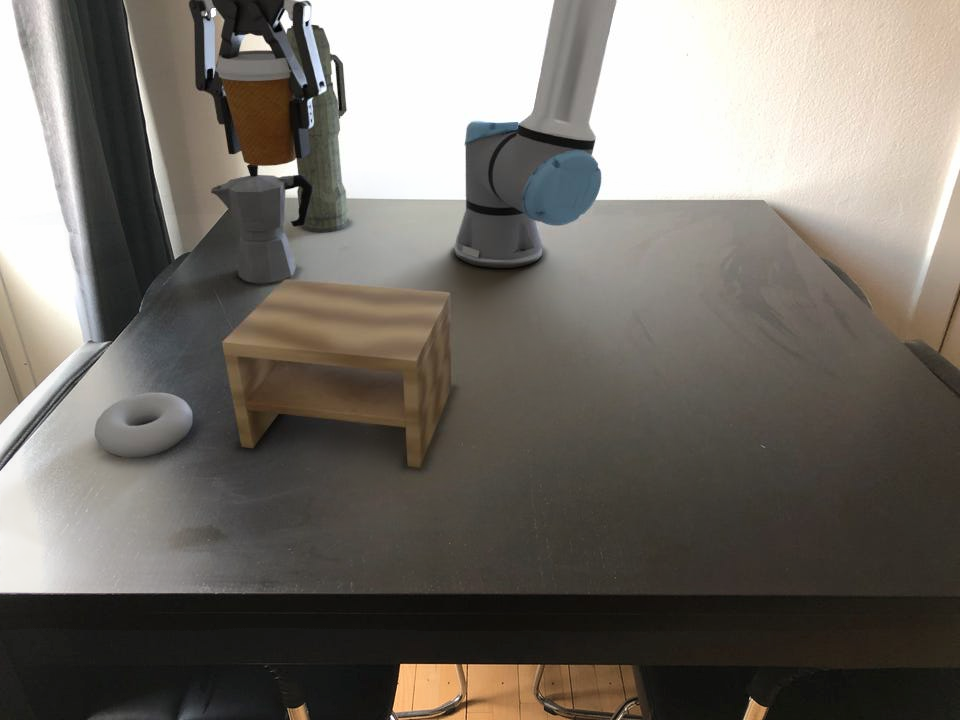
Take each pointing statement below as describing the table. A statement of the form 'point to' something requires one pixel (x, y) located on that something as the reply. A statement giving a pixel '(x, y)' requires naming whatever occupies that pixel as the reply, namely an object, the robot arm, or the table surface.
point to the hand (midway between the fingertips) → (269, 153)
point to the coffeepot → (263, 222)
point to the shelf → (343, 359)
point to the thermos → (324, 144)
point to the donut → (131, 440)
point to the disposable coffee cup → (260, 105)
